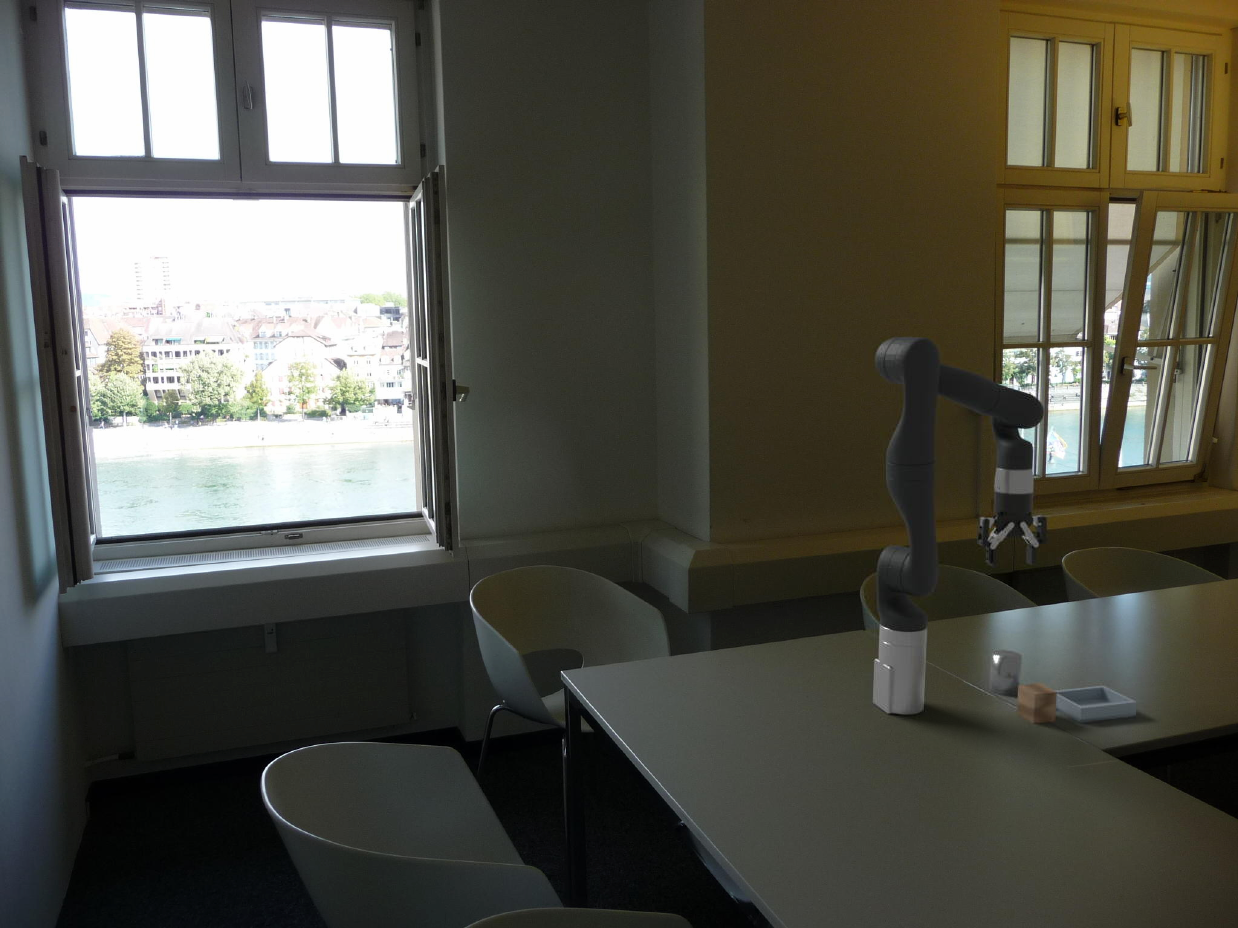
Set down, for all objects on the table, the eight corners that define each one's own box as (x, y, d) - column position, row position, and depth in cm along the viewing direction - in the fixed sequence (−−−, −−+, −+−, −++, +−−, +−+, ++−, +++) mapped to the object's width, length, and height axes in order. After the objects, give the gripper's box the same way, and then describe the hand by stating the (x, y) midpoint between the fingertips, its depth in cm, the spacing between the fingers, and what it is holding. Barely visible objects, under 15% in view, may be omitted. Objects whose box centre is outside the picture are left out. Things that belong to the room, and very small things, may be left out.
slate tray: (1080, 722, 186) (1081, 708, 186) (1048, 705, 195) (1049, 691, 194) (1135, 716, 189) (1137, 701, 189) (1102, 699, 198) (1103, 685, 198)
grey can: (1001, 696, 200) (1003, 660, 198) (983, 686, 205) (985, 651, 204) (1026, 694, 201) (1028, 657, 200) (1008, 684, 207) (1009, 648, 206)
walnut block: (1033, 723, 186) (1034, 694, 185) (1016, 713, 191) (1018, 685, 190) (1055, 721, 187) (1057, 691, 186) (1038, 711, 192) (1040, 683, 191)
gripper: (989, 493, 195) (987, 570, 197) (1055, 490, 196) (1052, 567, 199) (972, 487, 203) (970, 561, 205) (1036, 485, 204) (1033, 559, 206)
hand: (1011, 564), depth 202 cm, fingers open, 8 cm apart
